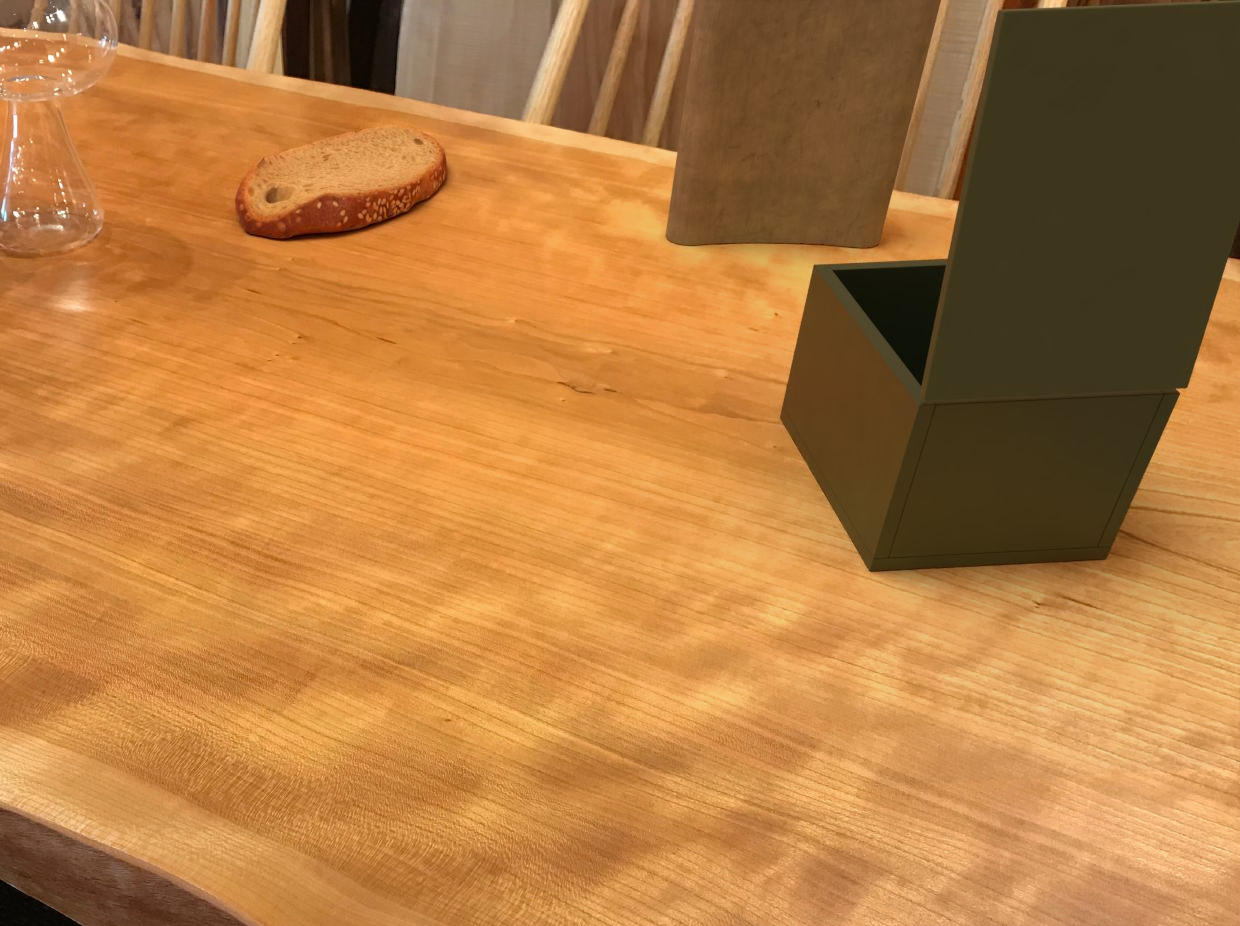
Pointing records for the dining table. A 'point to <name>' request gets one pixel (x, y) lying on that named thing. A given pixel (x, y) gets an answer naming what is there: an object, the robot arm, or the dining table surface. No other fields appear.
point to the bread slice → (340, 182)
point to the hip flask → (796, 119)
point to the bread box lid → (1092, 203)
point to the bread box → (952, 437)
